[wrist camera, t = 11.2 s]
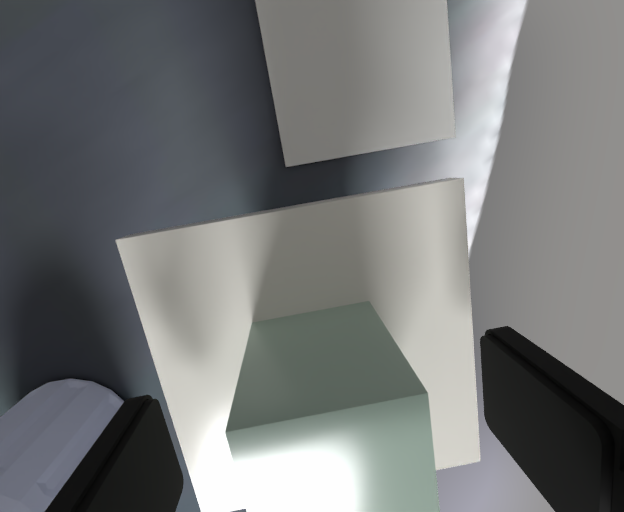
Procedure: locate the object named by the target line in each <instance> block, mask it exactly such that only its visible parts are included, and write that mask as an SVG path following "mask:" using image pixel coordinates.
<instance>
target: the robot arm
mask: <svg viewBox="0 0 624 512" xmlns="http://www.w3.org/2000/svg"><path fill="white" fill-rule="evenodd" d="M480 346H481V363H482V382H483V399H484V415H485V420H486V422H487V425H488V426H489V428H490V430H491V431H492V432H493V434H494V435H495V436H496V437H497V439H498V440H499V441H500V442H501V444H502V445H503V446H504V447H505V449H506V450H507V451H508V453H509V454H510V455H511V456H512V458H513V459H514V460H515V461H516V463H517V464H518V465H519V466H520V467H521V469H522V470H523V471H524V473H525V474H526V475H527V477H528V478H529V479H530V480H531V482H532V483H533V484H534V485H535V487H536V488H537V489H538V490H539V491H540V493H541V494H542V495H543V497H544V498H545V499H546V500H547V502H548V503H549V504H550V505H551V507H552V508H553V509H554V511H555V512H624V405H623V404H621V403H620V402H618V401H617V400H615V399H614V398H612V397H611V396H610V395H608V394H607V393H605V392H603V391H602V390H601V389H599V388H598V387H596V386H595V385H594V384H592V383H591V382H589V381H587V380H586V379H585V378H583V377H582V376H580V375H579V374H578V373H576V372H575V371H573V370H572V369H570V368H569V367H567V366H565V365H564V364H563V363H562V362H560V361H559V360H557V359H556V358H554V357H553V356H551V355H550V354H548V353H547V352H546V351H544V350H543V349H541V348H540V347H538V346H537V345H535V344H534V343H532V342H531V341H530V340H528V339H527V338H525V337H524V336H522V335H521V334H519V333H518V332H516V331H515V330H514V329H512V328H511V327H508V326H505V327H500V328H494V329H489V330H487V331H486V332H485V336H482V337H481V339H480ZM182 489H183V475H182V471H181V468H180V465H179V462H178V459H177V456H176V453H175V450H174V447H173V444H172V440H171V437H170V434H169V431H168V428H167V425H166V422H165V419H164V416H163V413H162V410H161V407H160V404H159V401H158V400H157V399H152V397H151V396H150V395H145V396H139V397H134V398H129V399H126V400H125V401H124V403H123V404H122V405H121V407H120V408H119V409H118V411H117V412H116V414H115V415H114V416H113V418H112V419H111V420H110V422H109V423H108V425H107V426H106V427H105V429H104V430H103V432H102V433H101V434H100V436H99V437H98V438H97V440H96V441H95V443H94V444H93V445H92V447H91V448H90V450H89V451H88V452H87V454H86V455H85V456H84V458H83V459H82V461H81V462H80V463H79V465H78V466H77V467H76V469H75V470H74V472H73V473H72V474H71V476H70V477H69V479H68V480H67V481H66V483H65V484H64V485H63V487H62V488H61V490H60V491H59V492H58V494H57V495H56V497H55V498H54V499H53V501H52V502H51V503H50V505H49V506H48V508H47V509H46V510H45V512H175V511H176V508H177V505H178V502H179V499H180V496H181V493H182Z"/></svg>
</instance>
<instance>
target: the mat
mask: <svg viewBox="0 0 624 512" xmlns="http://www.w3.org/2000/svg"><path fill="white" fill-rule="evenodd" d="M255 2H256V8H257V13H258V19H259V24H260V30H261V35H262V41H263V46H264V51H265V57H266V62H267V68H268V73H269V79H270V84H271V89H272V95H273V100H274V106H275V111H276V117H277V122H278V127H279V133H280V138H281V144H282V149H283V155H284V160H285V165H286V167H290V166H296V165H301V164H307V163H313V162H318V161H324V160H330V159H335V158H341V157H347V156H352V155H358V154H364V153H369V152H375V151H381V150H386V149H392V148H398V147H403V146H409V145H415V144H420V143H426V142H432V141H437V140H443V139H449V138H454V137H456V134H455V119H454V103H453V88H452V73H451V58H450V42H449V27H448V12H447V0H255Z"/></svg>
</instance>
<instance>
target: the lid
mask: <svg viewBox="0 0 624 512" xmlns="http://www.w3.org/2000/svg"><path fill="white" fill-rule="evenodd" d="M116 243H117V246H118V249H119V252H120V256H121V259H122V262H123V265H124V268H125V271H126V275H127V278H128V281H129V284H130V287H131V290H132V294H133V297H134V300H135V303H136V306H137V310H138V313H139V316H140V319H141V322H142V325H143V329H144V332H145V335H146V338H147V341H148V344H149V348H150V351H151V354H152V357H153V360H154V363H155V367H156V370H157V373H158V376H159V379H160V382H161V386H162V389H163V392H164V395H165V398H166V401H167V405H168V408H169V411H170V414H171V417H172V420H173V424H174V427H175V430H176V433H177V436H178V440H179V443H180V446H181V449H182V452H183V455H184V459H185V462H186V465H187V468H188V471H189V474H190V478H191V481H192V484H193V487H194V490H195V493H196V497H197V500H198V503H199V506H200V509H201V512H229V511H234V510H239V509H244V508H246V511H247V512H440V508H439V498H438V489H437V478H436V470H439V469H444V468H449V467H454V466H459V465H464V464H469V463H475V462H479V461H480V443H479V427H478V410H477V394H476V377H475V360H474V345H473V327H472V310H471V294H470V277H469V260H468V243H467V226H466V210H465V193H464V178H446V179H440V180H435V181H429V182H423V183H418V184H412V185H406V186H401V187H395V188H389V189H384V190H378V191H372V192H367V193H361V194H356V195H350V196H344V197H339V198H333V199H327V200H322V201H316V202H310V203H305V204H299V205H293V206H288V207H282V208H277V209H271V210H265V211H260V212H254V213H248V214H243V215H237V216H231V217H226V218H220V219H214V220H209V221H203V222H198V223H192V224H186V225H181V226H175V227H169V228H164V229H158V230H152V231H147V232H141V233H135V234H130V235H127V236H125V237H122V238H119V239H117V240H116Z"/></svg>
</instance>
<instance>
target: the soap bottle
mask: <svg viewBox="0 0 624 512" xmlns="http://www.w3.org/2000/svg"><path fill="white" fill-rule="evenodd" d="M123 403H124V401H123V400H122V399H121V398H120V397H119V396H118V395H117V394H115V393H114V392H113V391H112V390H111V389H108V388H106V387H104V386H102V385H99V384H97V383H95V382H93V381H86V380H79V379H72V378H71V379H65V380H59V381H53V382H48V383H46V384H44V385H42V386H41V387H39V388H37V389H35V390H33V391H31V392H30V393H29V394H27V395H26V396H25V397H24V398H23V399H21V400H20V401H19V402H18V403H17V404H16V405H14V406H13V407H12V408H11V409H10V410H8V411H7V412H6V413H5V414H4V415H2V416H1V417H0V512H45V510H46V509H47V508H48V506H49V505H50V503H51V502H52V501H53V499H54V498H55V497H56V495H57V494H58V492H59V491H60V490H61V488H62V487H63V485H64V484H65V483H66V481H67V480H68V479H69V477H70V476H71V474H72V473H73V472H74V470H75V469H76V467H77V466H78V465H79V463H80V462H81V461H82V459H83V458H84V456H85V455H86V454H87V452H88V451H89V450H90V448H91V447H92V445H93V444H94V443H95V441H96V440H97V438H98V437H99V436H100V434H101V433H102V432H103V430H104V429H105V427H106V426H107V425H108V423H109V422H110V420H111V419H112V418H113V416H114V415H115V414H116V412H117V411H118V409H119V408H120V407H121V405H122V404H123Z"/></svg>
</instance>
